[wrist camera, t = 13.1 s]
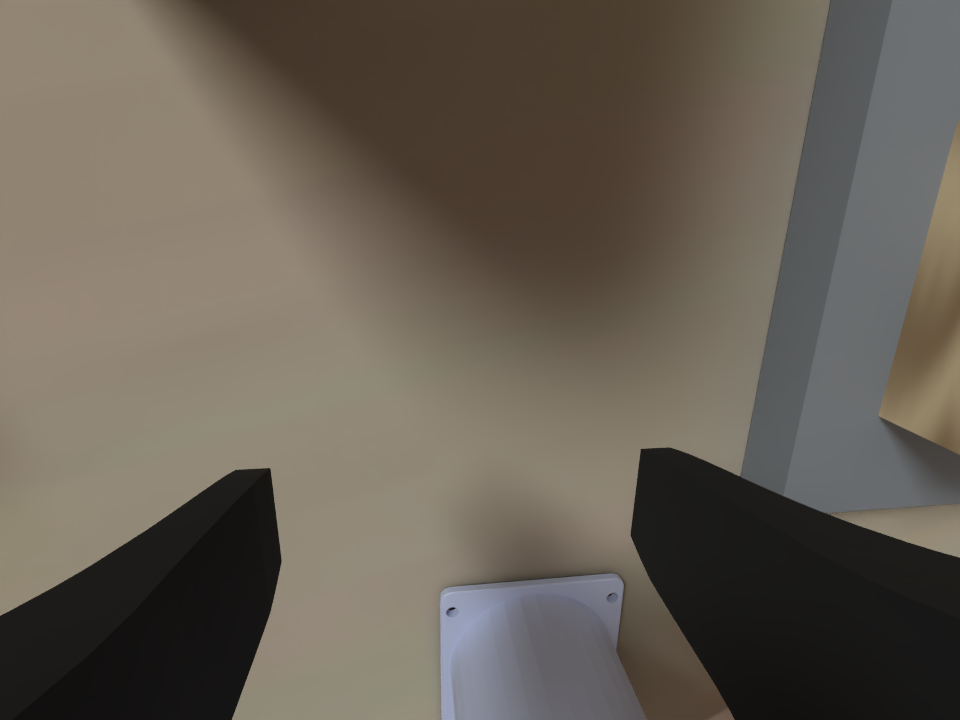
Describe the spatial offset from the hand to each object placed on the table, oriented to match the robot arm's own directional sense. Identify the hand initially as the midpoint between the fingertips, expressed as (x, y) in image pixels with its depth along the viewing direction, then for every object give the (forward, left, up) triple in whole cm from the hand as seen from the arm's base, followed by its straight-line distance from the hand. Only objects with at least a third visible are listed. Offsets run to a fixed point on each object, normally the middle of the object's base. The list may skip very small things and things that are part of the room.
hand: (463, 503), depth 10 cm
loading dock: (+3, -19, -9) cm, 21 cm away
